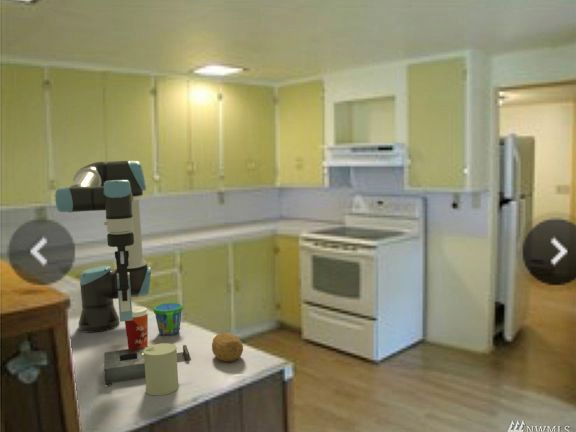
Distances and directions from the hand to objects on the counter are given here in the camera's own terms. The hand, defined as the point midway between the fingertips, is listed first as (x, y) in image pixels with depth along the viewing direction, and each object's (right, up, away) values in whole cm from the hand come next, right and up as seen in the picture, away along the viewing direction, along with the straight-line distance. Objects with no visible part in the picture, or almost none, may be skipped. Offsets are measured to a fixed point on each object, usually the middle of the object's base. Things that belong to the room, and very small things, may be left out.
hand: (125, 308), depth 154 cm
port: (+1, -20, +2) cm, 20 cm away
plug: (0, -3, 0) cm, 3 cm away
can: (+13, -21, -9) cm, 26 cm away
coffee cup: (-2, -18, +19) cm, 26 cm away
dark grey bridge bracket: (+13, -19, +12) cm, 26 cm away
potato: (+30, -18, +10) cm, 36 cm away
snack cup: (+5, -16, +38) cm, 41 cm away
